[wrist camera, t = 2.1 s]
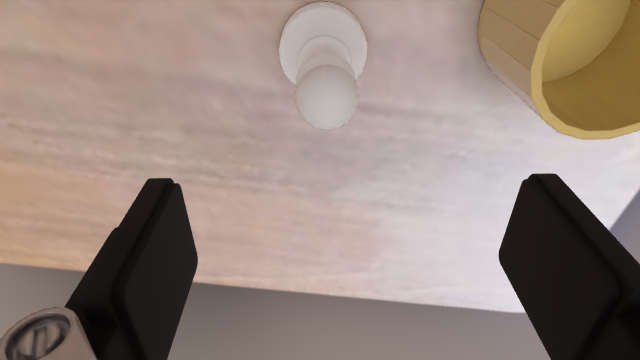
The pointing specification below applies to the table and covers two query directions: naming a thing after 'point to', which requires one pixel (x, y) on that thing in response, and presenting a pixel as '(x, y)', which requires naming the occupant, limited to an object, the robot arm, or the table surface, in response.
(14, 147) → the table surface
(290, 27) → the chess pawn
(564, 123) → the yellow cup
